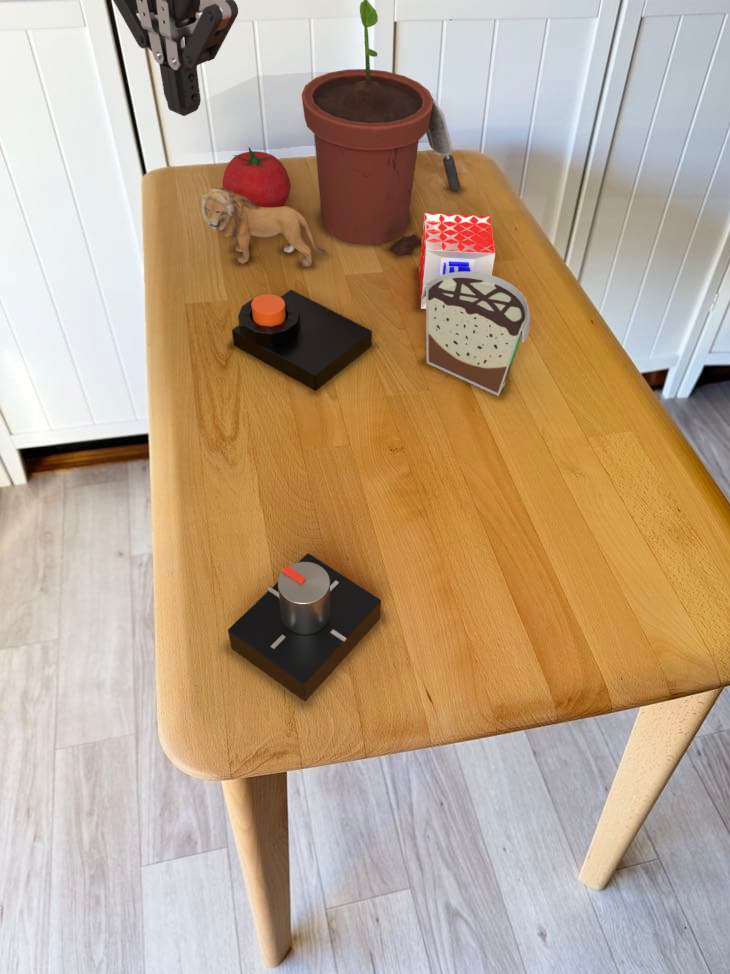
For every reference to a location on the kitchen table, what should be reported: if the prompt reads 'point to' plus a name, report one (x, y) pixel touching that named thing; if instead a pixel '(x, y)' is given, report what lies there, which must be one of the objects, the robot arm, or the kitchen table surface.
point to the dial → (304, 597)
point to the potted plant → (372, 147)
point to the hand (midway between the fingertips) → (184, 110)
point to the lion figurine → (255, 222)
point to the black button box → (303, 340)
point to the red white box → (454, 246)
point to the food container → (474, 327)
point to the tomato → (258, 179)
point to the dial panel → (305, 656)
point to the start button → (268, 310)
